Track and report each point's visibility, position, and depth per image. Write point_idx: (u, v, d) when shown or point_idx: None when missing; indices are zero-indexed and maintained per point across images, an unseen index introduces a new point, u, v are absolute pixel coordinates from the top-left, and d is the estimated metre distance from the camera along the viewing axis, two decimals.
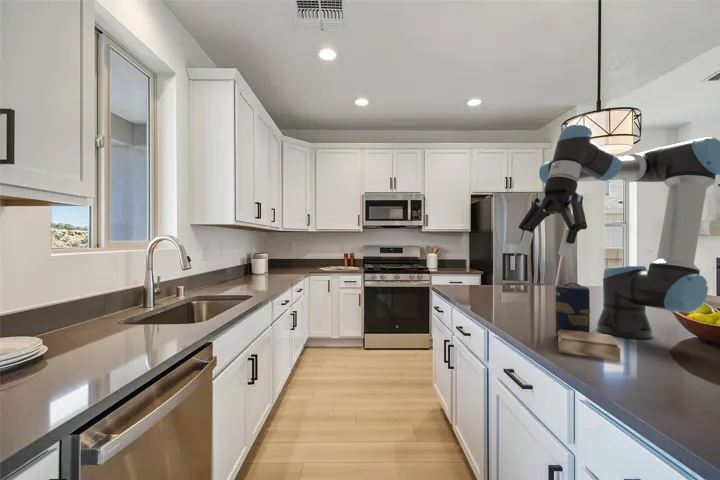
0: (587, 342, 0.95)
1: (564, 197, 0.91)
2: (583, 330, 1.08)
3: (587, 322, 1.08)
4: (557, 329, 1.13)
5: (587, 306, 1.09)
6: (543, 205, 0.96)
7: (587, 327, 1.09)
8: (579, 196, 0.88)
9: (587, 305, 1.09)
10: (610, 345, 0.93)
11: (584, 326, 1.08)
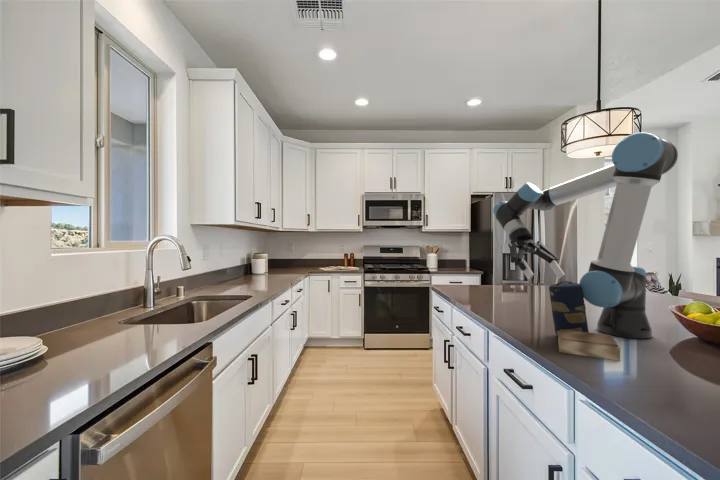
0: (587, 342, 0.95)
1: None
2: (581, 327, 1.08)
3: (584, 319, 1.09)
4: (556, 329, 1.13)
5: (582, 303, 1.09)
6: None
7: (585, 323, 1.09)
8: (509, 243, 1.31)
9: (581, 301, 1.09)
10: (610, 345, 0.93)
11: (581, 323, 1.08)
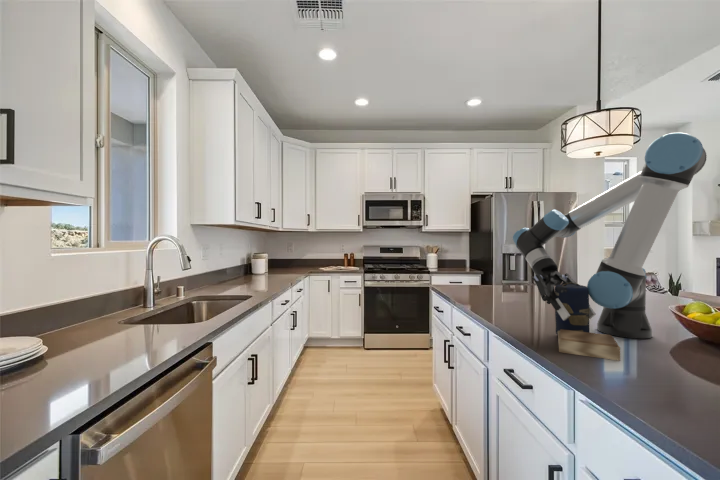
0: (587, 342, 0.95)
1: None
2: (583, 330, 1.08)
3: (587, 322, 1.08)
4: (557, 329, 1.13)
5: (587, 306, 1.08)
6: None
7: (587, 326, 1.09)
8: (535, 277, 1.19)
9: (586, 304, 1.08)
10: (610, 345, 0.93)
11: (584, 325, 1.08)
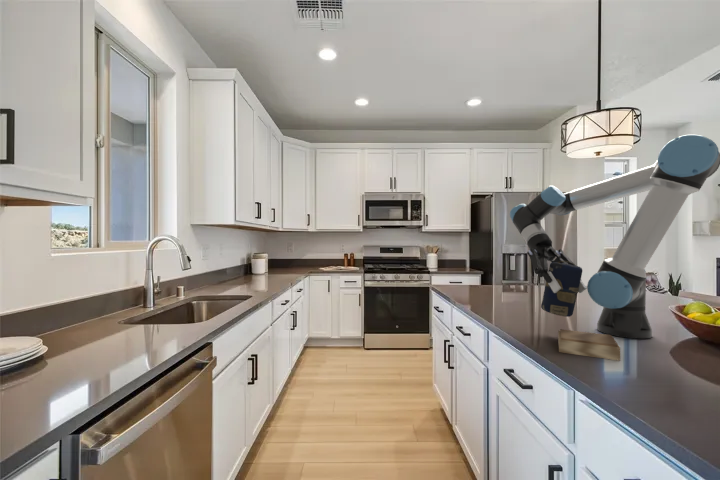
0: (587, 342, 0.95)
1: None
2: (568, 307, 1.11)
3: (573, 300, 1.11)
4: (543, 303, 1.16)
5: (577, 285, 1.11)
6: None
7: (573, 304, 1.11)
8: (529, 251, 1.20)
9: (577, 284, 1.11)
10: (610, 345, 0.93)
11: (570, 303, 1.11)
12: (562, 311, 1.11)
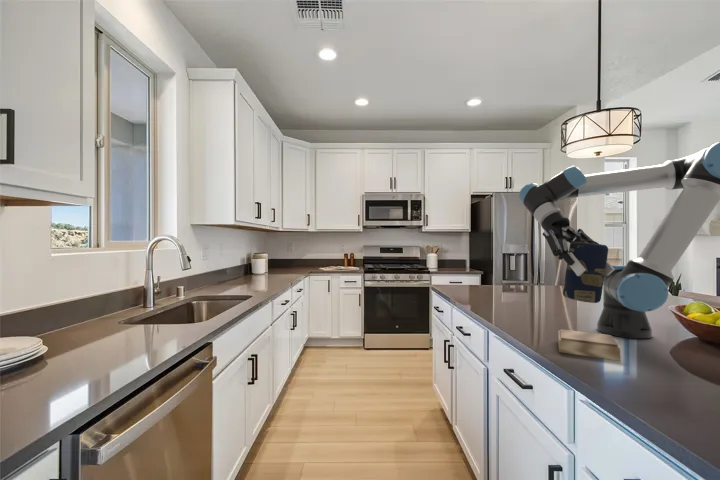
0: (587, 342, 0.95)
1: None
2: (595, 291, 0.96)
3: (601, 283, 0.96)
4: (565, 289, 1.01)
5: (604, 266, 0.96)
6: None
7: (600, 288, 0.97)
8: (545, 232, 1.06)
9: (604, 264, 0.96)
10: (610, 345, 0.93)
11: (597, 287, 0.96)
12: (588, 296, 0.96)
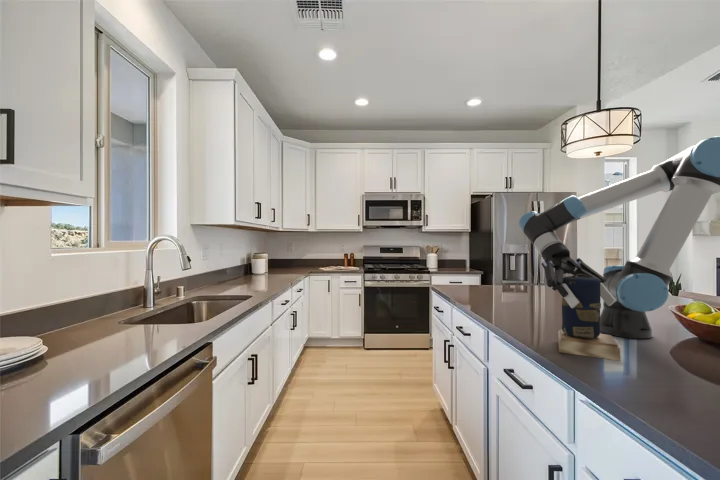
0: (587, 342, 0.95)
1: None
2: (593, 326, 0.96)
3: (597, 318, 0.97)
4: (563, 325, 1.01)
5: (598, 300, 0.97)
6: None
7: (598, 323, 0.97)
8: (544, 262, 1.07)
9: (598, 298, 0.97)
10: (610, 345, 0.93)
11: (594, 322, 0.96)
12: (587, 332, 0.96)
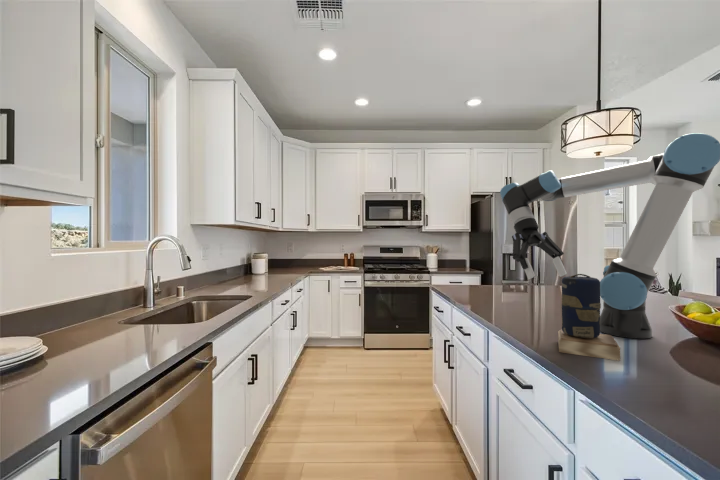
0: (587, 342, 0.95)
1: None
2: (593, 326, 0.96)
3: (597, 317, 0.97)
4: (563, 325, 1.01)
5: (598, 300, 0.97)
6: None
7: (598, 323, 0.97)
8: (514, 235, 1.21)
9: (597, 298, 0.97)
10: (610, 345, 0.93)
11: (594, 322, 0.96)
12: (587, 332, 0.96)
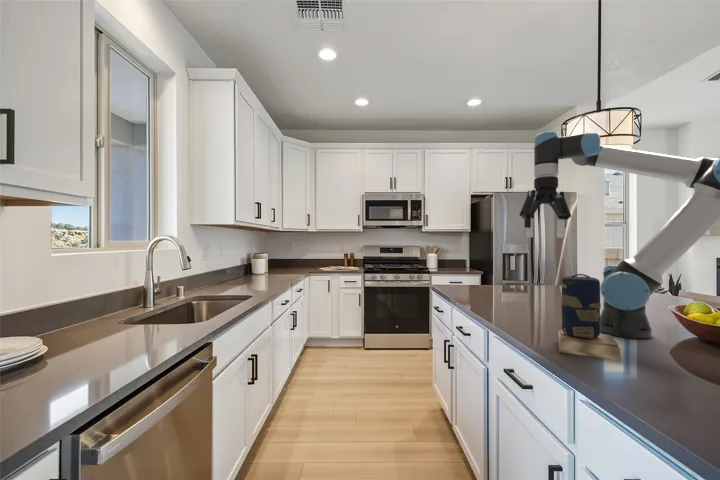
0: (587, 342, 0.95)
1: None
2: (593, 326, 0.96)
3: (597, 317, 0.97)
4: (563, 325, 1.01)
5: (598, 300, 0.97)
6: None
7: (598, 323, 0.97)
8: (530, 191, 1.21)
9: (597, 298, 0.97)
10: (610, 345, 0.93)
11: (594, 322, 0.96)
12: (587, 332, 0.96)
